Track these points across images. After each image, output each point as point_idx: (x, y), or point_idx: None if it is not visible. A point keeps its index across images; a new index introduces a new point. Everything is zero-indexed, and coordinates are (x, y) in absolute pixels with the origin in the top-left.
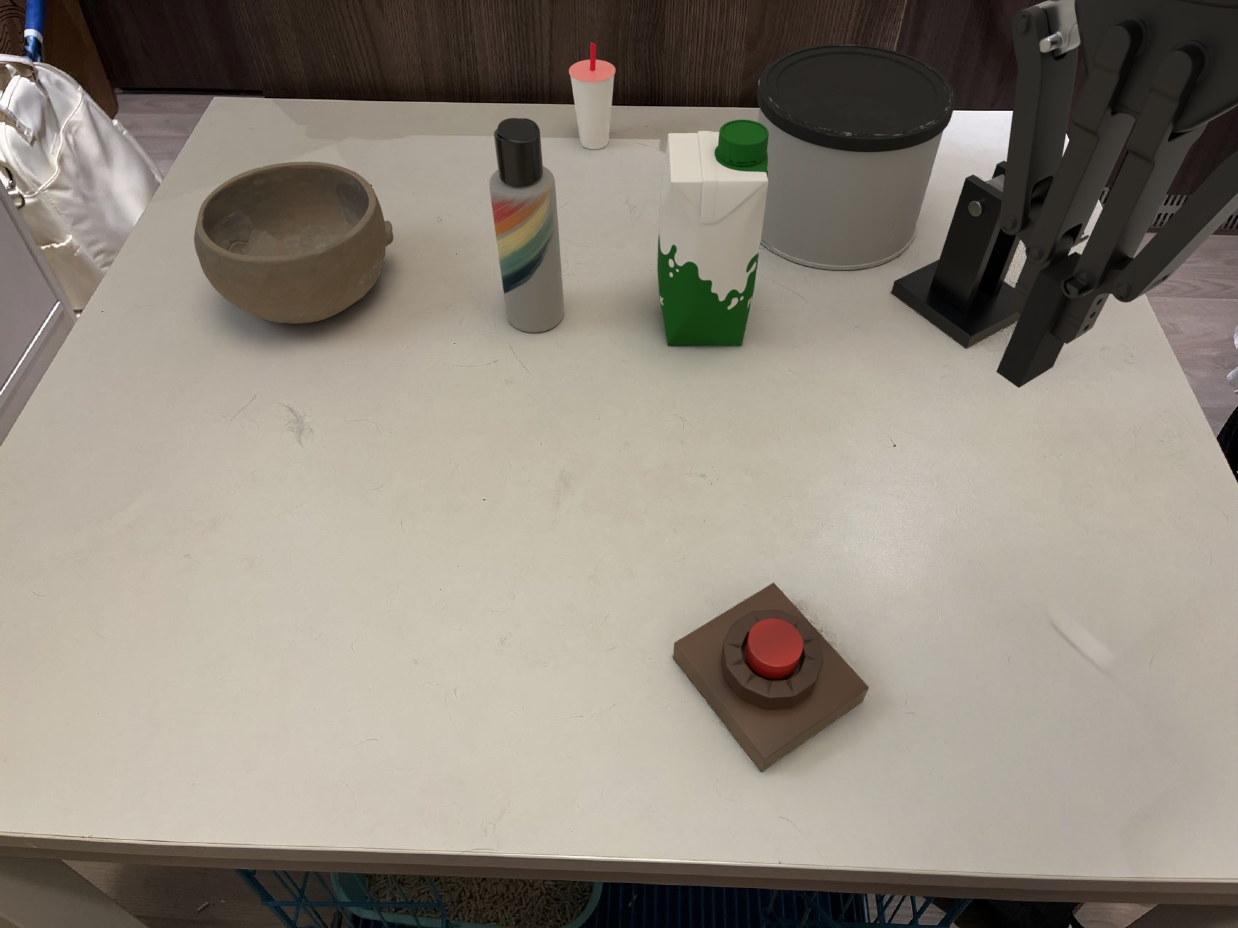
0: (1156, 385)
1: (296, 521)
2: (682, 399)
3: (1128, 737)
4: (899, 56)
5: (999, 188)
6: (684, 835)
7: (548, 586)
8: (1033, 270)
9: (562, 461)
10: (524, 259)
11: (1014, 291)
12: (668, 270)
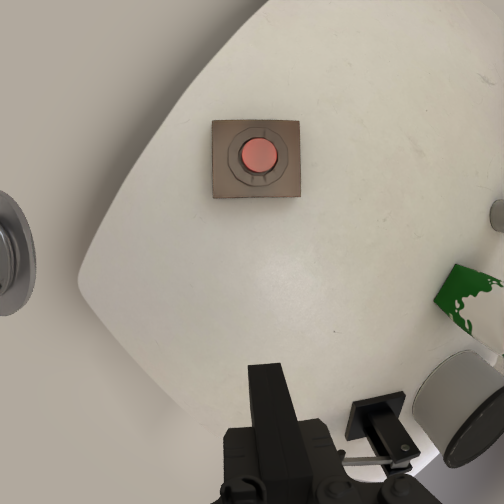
0: None
1: (444, 44)
2: (428, 246)
3: (131, 301)
4: (478, 455)
5: (403, 462)
6: (209, 76)
7: (367, 100)
8: (325, 468)
9: (429, 159)
10: None
11: (328, 434)
12: (491, 279)
